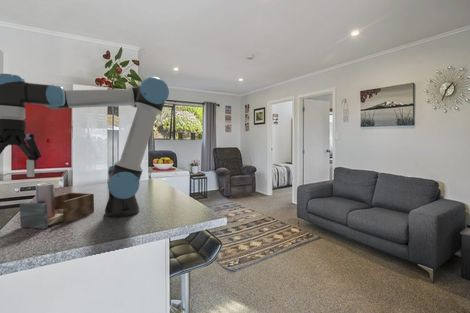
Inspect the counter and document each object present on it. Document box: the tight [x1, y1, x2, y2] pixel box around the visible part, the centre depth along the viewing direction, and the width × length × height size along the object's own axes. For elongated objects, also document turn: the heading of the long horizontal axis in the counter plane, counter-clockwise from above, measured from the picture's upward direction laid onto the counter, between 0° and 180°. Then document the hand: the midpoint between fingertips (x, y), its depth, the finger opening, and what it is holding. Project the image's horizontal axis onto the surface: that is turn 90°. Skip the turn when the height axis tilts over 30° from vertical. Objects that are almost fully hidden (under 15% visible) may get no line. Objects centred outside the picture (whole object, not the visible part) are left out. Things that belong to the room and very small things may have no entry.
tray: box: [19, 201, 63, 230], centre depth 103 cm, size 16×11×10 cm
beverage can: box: [35, 182, 56, 219], centre depth 100 cm, size 6×6×15 cm
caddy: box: [55, 192, 95, 223], centre depth 111 cm, size 16×13×9 cm
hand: (13, 179), depth 88 cm, fingers open, 12 cm apart
